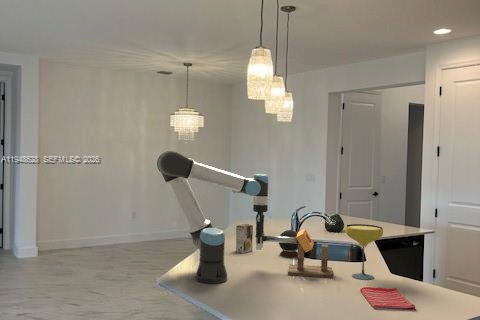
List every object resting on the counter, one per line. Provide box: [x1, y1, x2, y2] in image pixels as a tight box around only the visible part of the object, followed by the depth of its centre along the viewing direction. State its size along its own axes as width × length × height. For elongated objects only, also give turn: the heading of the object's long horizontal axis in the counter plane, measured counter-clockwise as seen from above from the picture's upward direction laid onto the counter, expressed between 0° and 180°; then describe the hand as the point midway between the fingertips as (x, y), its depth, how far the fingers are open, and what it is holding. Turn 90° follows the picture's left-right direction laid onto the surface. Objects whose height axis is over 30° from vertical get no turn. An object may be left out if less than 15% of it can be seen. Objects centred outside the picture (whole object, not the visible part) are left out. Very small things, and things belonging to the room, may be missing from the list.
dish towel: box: [360, 286, 417, 312], centre depth 187 cm, size 17×24×3 cm
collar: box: [296, 228, 315, 254], centre depth 228 cm, size 9×4×9 cm
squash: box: [324, 213, 345, 233], centre depth 355 cm, size 14×15×15 cm
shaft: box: [261, 232, 308, 245], centre depth 231 cm, size 4×26×5 cm, turn 80°
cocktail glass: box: [345, 223, 384, 281], centre depth 222 cm, size 18×18×25 cm
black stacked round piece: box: [278, 229, 298, 258], centre depth 267 cm, size 13×13×15 cm
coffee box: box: [235, 223, 254, 254], centre depth 275 cm, size 9×6×16 cm
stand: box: [287, 244, 334, 279], centre depth 229 cm, size 16×22×14 cm
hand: (259, 248), depth 233 cm, fingers closed on shaft, 5 cm apart
